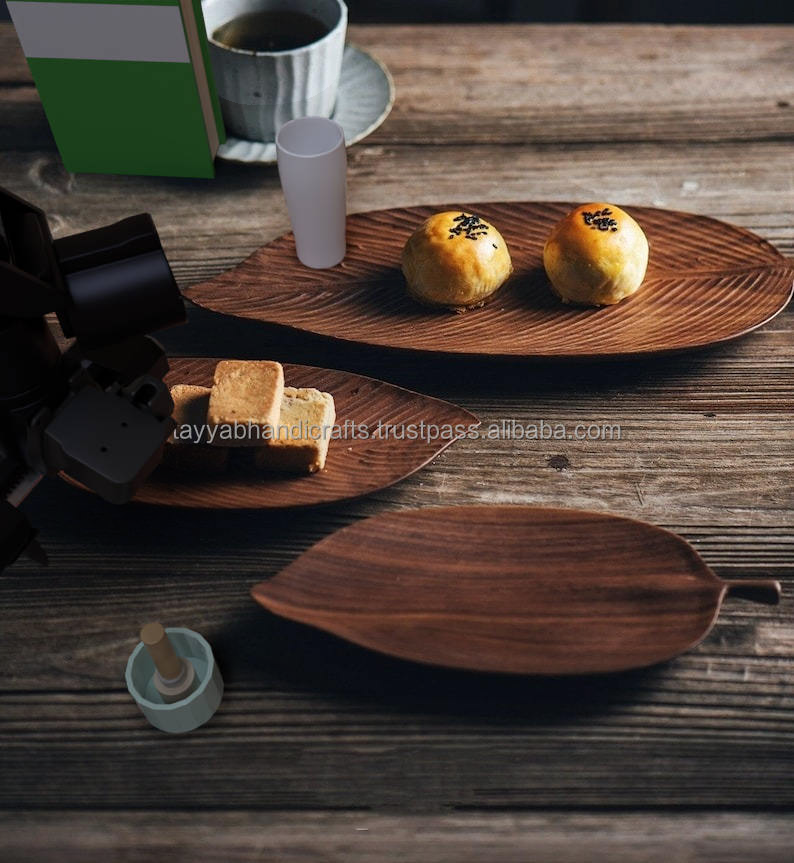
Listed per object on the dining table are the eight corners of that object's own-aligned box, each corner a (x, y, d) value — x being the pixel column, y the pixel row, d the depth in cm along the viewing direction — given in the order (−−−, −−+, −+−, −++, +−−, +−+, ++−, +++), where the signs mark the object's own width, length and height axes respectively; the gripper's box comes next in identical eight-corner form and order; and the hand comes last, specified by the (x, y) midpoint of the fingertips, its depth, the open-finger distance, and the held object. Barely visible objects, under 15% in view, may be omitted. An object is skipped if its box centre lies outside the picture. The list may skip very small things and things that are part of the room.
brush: (166, 716, 69) (134, 660, 61) (158, 680, 70) (125, 621, 62) (206, 702, 69) (179, 644, 61) (196, 666, 71) (169, 606, 63)
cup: (151, 747, 68) (134, 722, 64) (134, 672, 71) (118, 644, 68) (233, 717, 69) (222, 691, 65) (213, 645, 73) (201, 616, 69)
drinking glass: (324, 226, 103) (312, 106, 91) (366, 255, 100) (359, 134, 88) (277, 255, 100) (259, 135, 88) (319, 286, 97) (306, 166, 85)
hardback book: (227, 143, 113) (189, -60, 94) (214, 181, 108) (172, -24, 89) (86, 137, 114) (20, -65, 95) (67, 175, 110) (-6, -29, 91)
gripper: (11, 541, 46) (96, 671, 58) (216, 298, 56) (251, 453, 68) (-157, 463, 49) (-42, 602, 61) (67, 246, 59) (126, 403, 71)
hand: (84, 510), depth 65 cm, fingers open, 9 cm apart
